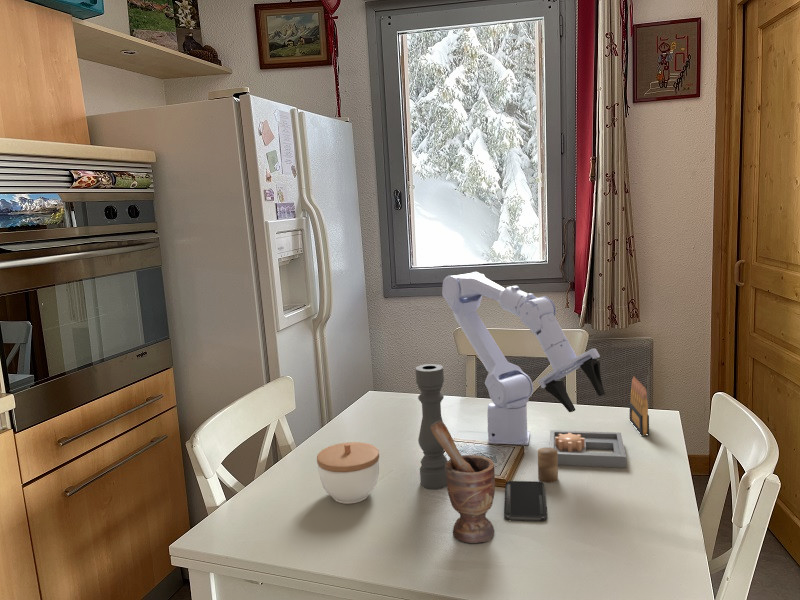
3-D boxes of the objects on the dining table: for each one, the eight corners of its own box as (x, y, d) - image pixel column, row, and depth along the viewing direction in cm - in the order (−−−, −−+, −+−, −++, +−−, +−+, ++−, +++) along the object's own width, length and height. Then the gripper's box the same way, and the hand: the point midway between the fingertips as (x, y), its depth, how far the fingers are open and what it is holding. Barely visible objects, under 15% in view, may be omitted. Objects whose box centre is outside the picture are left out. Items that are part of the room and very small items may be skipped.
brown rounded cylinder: (537, 482, 134) (537, 454, 133) (538, 473, 138) (538, 446, 137) (557, 483, 133) (557, 455, 132) (558, 474, 137) (557, 447, 136)
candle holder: (454, 478, 138) (448, 364, 134) (443, 491, 133) (437, 372, 129) (427, 474, 141) (421, 362, 137) (415, 486, 135) (409, 370, 131)
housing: (548, 464, 142) (548, 449, 142) (550, 440, 156) (550, 426, 155) (626, 467, 138) (626, 452, 138) (620, 442, 152) (620, 428, 151)
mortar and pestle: (427, 542, 114) (421, 433, 110) (437, 517, 122) (432, 416, 119) (493, 548, 111) (489, 436, 107) (499, 522, 119) (495, 418, 116)
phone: (503, 516, 120) (505, 480, 134) (503, 522, 120) (505, 485, 134) (547, 518, 118) (544, 481, 133) (547, 523, 118) (544, 486, 133)
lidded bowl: (354, 477, 142) (350, 428, 140) (394, 493, 133) (391, 442, 131) (307, 497, 133) (303, 446, 131) (347, 517, 124) (343, 462, 122)
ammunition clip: (649, 436, 155) (649, 387, 153) (641, 436, 155) (641, 388, 153) (636, 420, 165) (636, 375, 163) (629, 420, 165) (629, 375, 163)
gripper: (522, 363, 143) (551, 420, 138) (575, 330, 135) (608, 388, 130) (536, 362, 148) (565, 416, 143) (589, 330, 141) (621, 386, 136)
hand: (587, 403), depth 137 cm, fingers open, 7 cm apart
